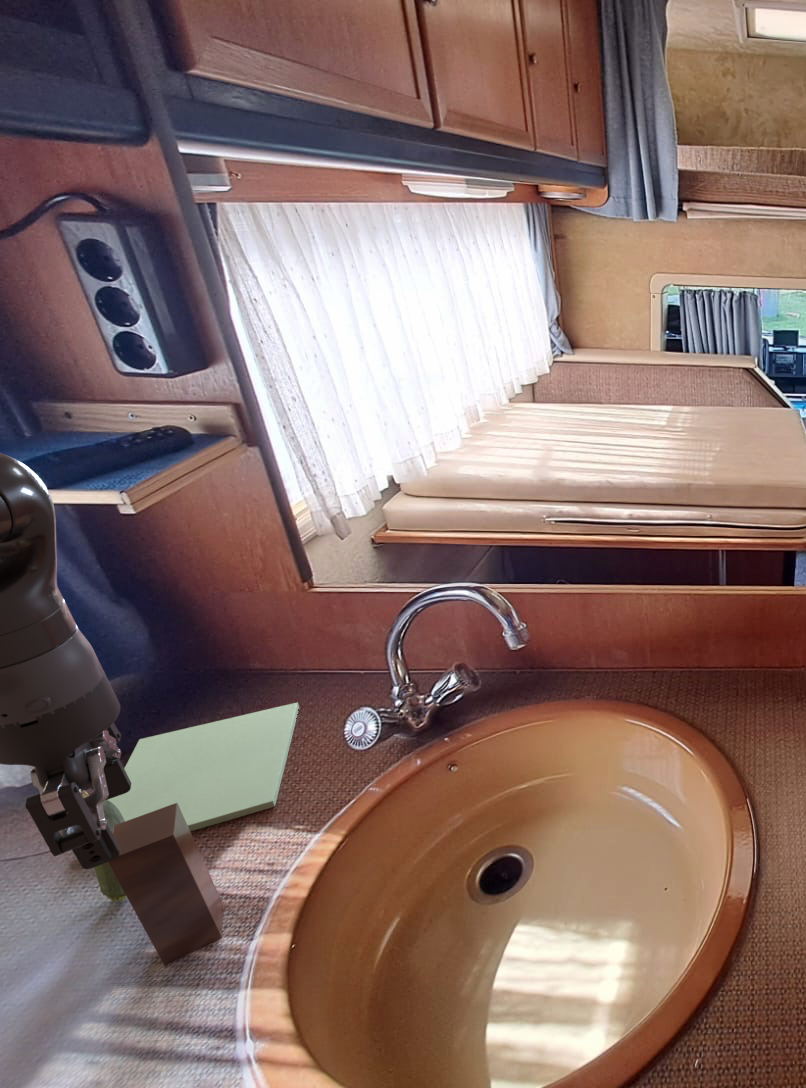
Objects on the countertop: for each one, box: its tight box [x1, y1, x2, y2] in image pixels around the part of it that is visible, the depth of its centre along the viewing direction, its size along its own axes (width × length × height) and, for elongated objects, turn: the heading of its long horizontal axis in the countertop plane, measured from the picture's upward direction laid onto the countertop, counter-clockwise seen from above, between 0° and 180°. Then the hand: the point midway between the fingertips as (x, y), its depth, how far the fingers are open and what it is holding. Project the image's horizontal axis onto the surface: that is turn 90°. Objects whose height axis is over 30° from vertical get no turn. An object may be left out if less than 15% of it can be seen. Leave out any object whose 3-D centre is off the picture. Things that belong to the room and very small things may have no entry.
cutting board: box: [108, 701, 300, 832], centre depth 93 cm, size 20×22×1 cm
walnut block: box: [108, 803, 224, 966], centre depth 70 cm, size 5×5×18 cm
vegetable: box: [71, 790, 127, 902], centre depth 73 cm, size 4×4×20 cm
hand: (110, 825), depth 57 cm, fingers open, 8 cm apart
